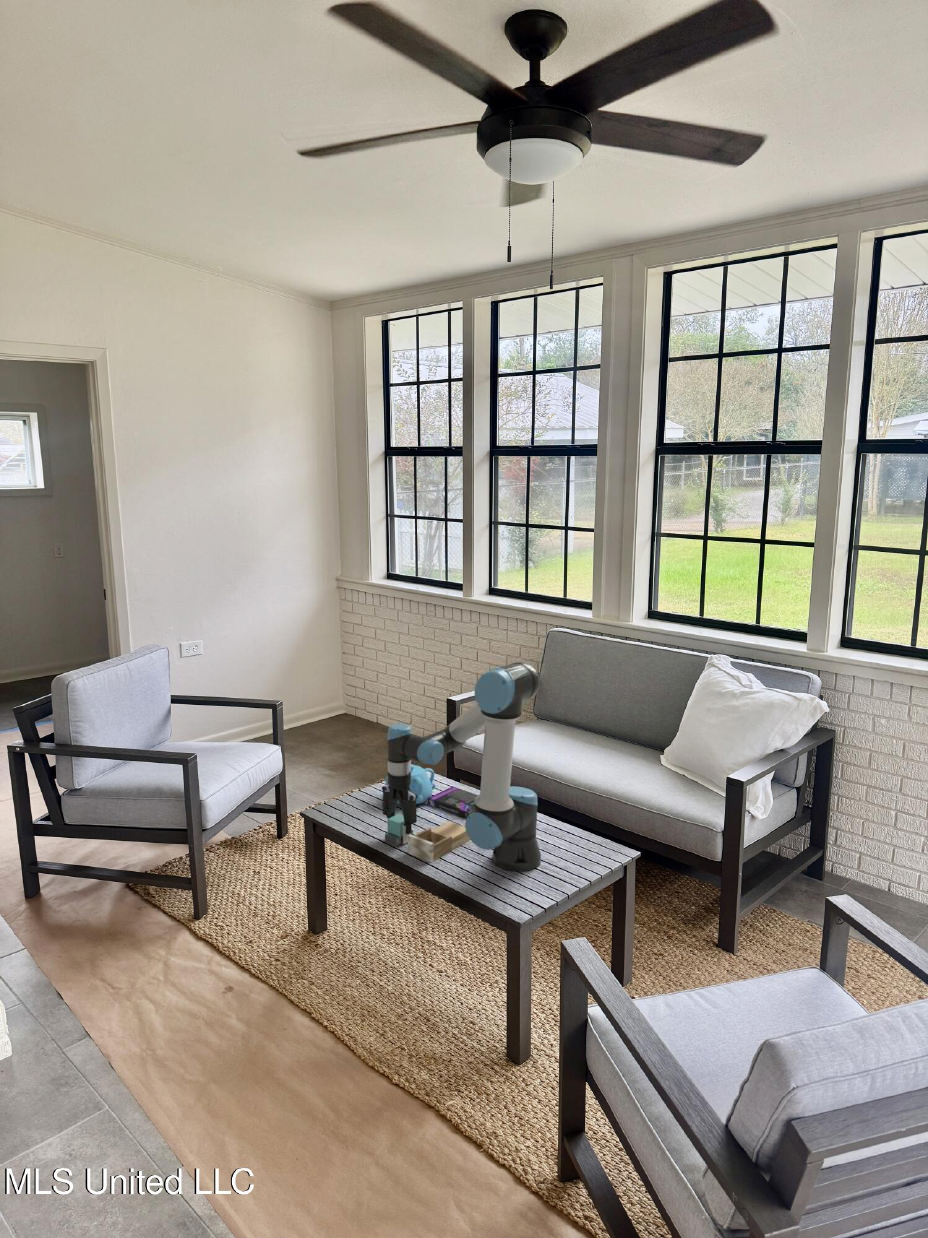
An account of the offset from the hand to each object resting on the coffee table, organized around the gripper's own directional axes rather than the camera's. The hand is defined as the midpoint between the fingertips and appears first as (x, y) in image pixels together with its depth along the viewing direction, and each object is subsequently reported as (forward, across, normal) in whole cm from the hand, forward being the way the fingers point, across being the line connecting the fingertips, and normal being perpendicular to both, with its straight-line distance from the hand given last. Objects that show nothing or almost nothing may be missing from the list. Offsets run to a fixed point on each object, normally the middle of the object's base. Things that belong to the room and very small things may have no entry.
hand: (399, 839), depth 264 cm
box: (+1, +2, -35) cm, 35 cm away
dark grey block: (0, 0, 0) cm, 0 cm away
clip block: (-3, 0, 0) cm, 3 cm away
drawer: (+1, -13, -6) cm, 14 cm away
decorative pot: (+1, +20, -27) cm, 33 cm away
